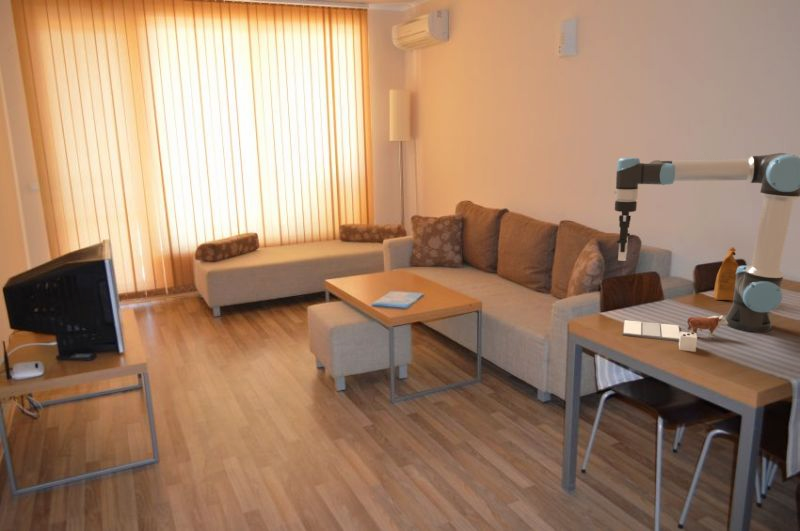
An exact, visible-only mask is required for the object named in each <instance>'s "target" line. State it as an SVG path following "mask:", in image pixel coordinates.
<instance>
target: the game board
mask: <svg viewBox="0 0 800 531" xmlns="http://www.w3.org/2000/svg"><path fill="white" fill-rule="evenodd" d="M622 326H623V328H622V336H627V337H635V338H643V339H644V338H646V339H655V340H665V341H674V342H679V337H680V332H681V330H680V325H679V324H677V325H676V324H669V323H668V324H667V323H657V322H655V323H654V322H647V321H646V322H645V321H636V320H626V319H625V320H623V325H622Z"/></svg>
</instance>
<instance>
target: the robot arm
mask: <svg viewBox="0 0 800 531" xmlns="http://www.w3.org/2000/svg"><path fill="white" fill-rule="evenodd" d="M615 176H616V181H615V182H616V183H615V190H614V191H613V193H614V195H615V201H614V210H615V212H620V213H621V215H619V216H618V222H619V225H618V226H619V240H617V242H616V244H618V254H617V255H618V257H617V261H623V262H625V261H627V254H628V242H629V240H628V239H629V237H630V236H631V235H630V234H631V233H629V228H630V224H631V220H632V219H631V217H632V216H631V215H630V213H633V212H637V206H638V205H637V204H638V201H636V200H638V192H639V190H638V189H639V186H638V185H660V186H661V185H662V186H664V185H673V184H674V183H675V182H683V181H684V182H687V181H688V182H689V181H690V182H693V181H694V182H698V181H701V182H703V181H708V182H709V181H711V182H712V181H746V182H748V184H761V186H760V192H759V193H760V195H761V196H762V198H763V202H762V208H761V211H760V212H761V213H760V218H759V224H758V229H757V234H756V239H755V244H754V249H753V255H752V259H751V263H750V264H751V265H739V267H738V268H737V272H736V281H735V290H734V298H733V301H732V304H731V307H730V308H729V310H728V312H727V314H726V316H725V318H726V320H727V322H728V324H727V325H726V326H729V327H730V328H732V329H733V328H734V329H737V330H741V331H745V332H746V331H747V332H757V333H761V332H768V331H770V330H771V329H772V323H773V322H772V318H771V315H770V313H771V312H772V311H774V310H776V309H777V308H778V307H779V306H780V304H781V303H782V302H783V291H782V284H783V280H784V274H783V273H782V271H781V270H780V269H781V263H782V259H783V258H782V257H783V254H784V250H785V249H784V248H785V244H786V243H785V242H786V240H787V234H788V228H789V224H790V221H791V220H790V219H791V215H792V210H793V206H794V201H796V200H798V199H799V198H800V157H799V156H798V155H795V154H790V153H784V152H783V153H782V152H779V153H778V152H777V153H771V154H765V155H751V156H750V157H748V158H735V159H734V158H733V159H732V158H731V159H728V158H727V159H698V160H697V159H693V160H692V159H691V160H689V159H687V160H685V159H683V160H657V159H656V160H653V161H650V162H648V163H642V162H641V161H640V157H639V158H638V157H621V158H618V160H617V166H616V175H615Z"/></svg>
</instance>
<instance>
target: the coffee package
mask: <svg viewBox="0 0 800 531" xmlns="http://www.w3.org/2000/svg"><path fill="white" fill-rule="evenodd" d="M734 256H736V248H735V247H734V246H733V247H730V249H728V252H727V254H726V256H725V257H724V258H723V261H722V263H721V266H720V267H719V270H718V272H717V274H716V277H715V283H714V290H713V296H714V299H715V300H716V301H732V302H733V298H734V290H735V281H736V272H737V268H738V267H739V266H740V265H739V264H738V262H737V260H736V259H735V257H734Z"/></svg>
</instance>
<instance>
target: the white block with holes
mask: <svg viewBox="0 0 800 531" xmlns="http://www.w3.org/2000/svg"><path fill="white" fill-rule="evenodd" d="M697 343H698V337H697V335H696V333H694V332H692V333H689V332H688V331H680V337H679V341H678V349H679V351H687V352H694V353H695V352H697Z"/></svg>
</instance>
